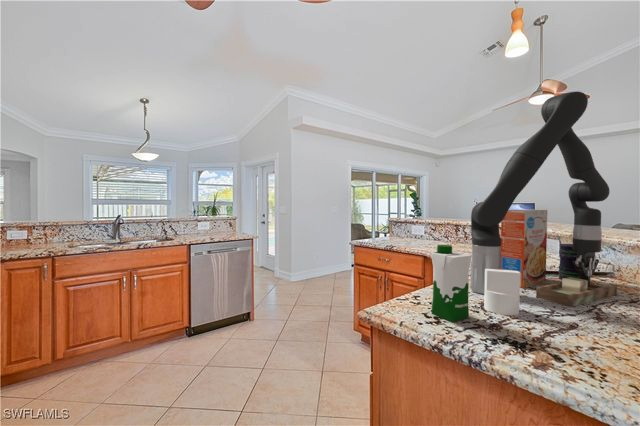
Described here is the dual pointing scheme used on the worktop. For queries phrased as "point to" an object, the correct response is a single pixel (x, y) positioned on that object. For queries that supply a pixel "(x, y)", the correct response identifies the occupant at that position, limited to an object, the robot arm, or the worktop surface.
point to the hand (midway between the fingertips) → (585, 285)
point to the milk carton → (450, 284)
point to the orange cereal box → (525, 244)
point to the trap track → (574, 294)
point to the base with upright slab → (502, 291)
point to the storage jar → (567, 262)
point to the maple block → (574, 285)
